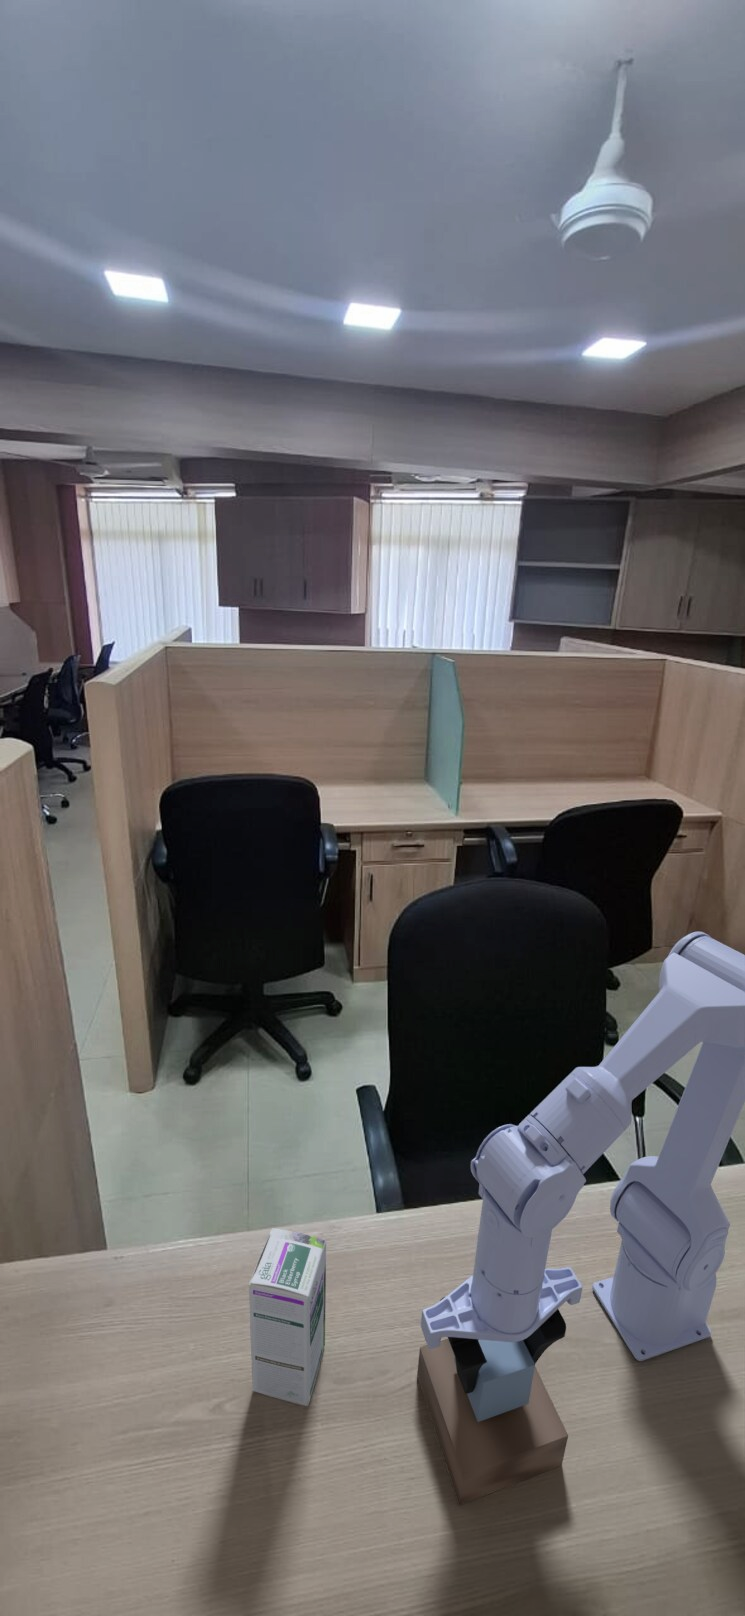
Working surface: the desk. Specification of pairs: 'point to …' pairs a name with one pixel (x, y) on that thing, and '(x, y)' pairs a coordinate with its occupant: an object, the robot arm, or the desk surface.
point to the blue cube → (502, 1379)
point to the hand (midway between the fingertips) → (493, 1371)
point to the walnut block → (488, 1430)
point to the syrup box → (288, 1315)
